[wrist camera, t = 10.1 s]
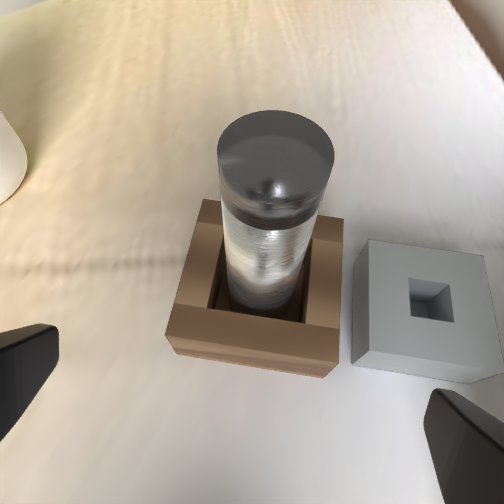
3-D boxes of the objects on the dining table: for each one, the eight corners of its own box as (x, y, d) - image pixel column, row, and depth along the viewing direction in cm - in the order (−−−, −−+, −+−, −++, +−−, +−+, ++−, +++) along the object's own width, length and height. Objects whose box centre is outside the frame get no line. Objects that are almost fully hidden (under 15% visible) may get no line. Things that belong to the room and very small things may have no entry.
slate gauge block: (468, 384, 22) (505, 372, 19) (351, 365, 22) (369, 350, 19) (454, 280, 25) (483, 255, 22) (353, 265, 25) (368, 239, 22)
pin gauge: (302, 299, 24) (358, 155, 12) (257, 339, 22) (272, 217, 11) (261, 259, 25) (278, 96, 14) (216, 293, 24) (193, 144, 12)
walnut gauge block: (322, 378, 22) (338, 363, 18) (176, 354, 22) (164, 334, 19) (329, 250, 26) (343, 218, 23) (208, 232, 26) (203, 199, 23)
